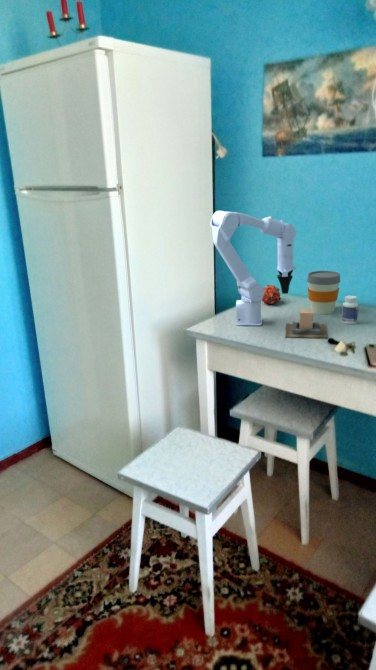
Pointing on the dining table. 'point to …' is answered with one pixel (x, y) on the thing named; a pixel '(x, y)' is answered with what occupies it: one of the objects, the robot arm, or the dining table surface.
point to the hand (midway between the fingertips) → (285, 290)
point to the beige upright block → (306, 319)
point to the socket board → (305, 331)
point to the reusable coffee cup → (323, 291)
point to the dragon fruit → (271, 295)
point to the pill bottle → (350, 310)
